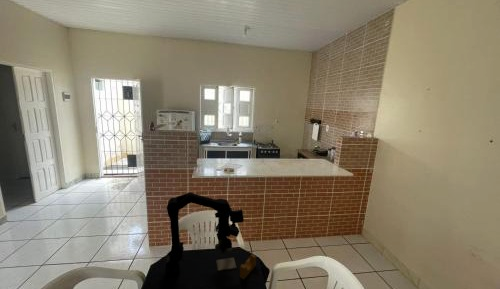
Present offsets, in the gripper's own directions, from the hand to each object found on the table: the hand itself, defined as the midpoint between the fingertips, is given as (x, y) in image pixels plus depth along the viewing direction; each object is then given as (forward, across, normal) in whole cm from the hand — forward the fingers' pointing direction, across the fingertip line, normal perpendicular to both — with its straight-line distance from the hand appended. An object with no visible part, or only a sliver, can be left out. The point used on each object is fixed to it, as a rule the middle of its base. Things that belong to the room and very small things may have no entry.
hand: (222, 250), depth 117 cm
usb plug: (+1, 0, -1) cm, 2 cm away
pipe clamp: (+9, -7, -12) cm, 17 cm away
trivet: (+9, 0, -2) cm, 9 cm away
